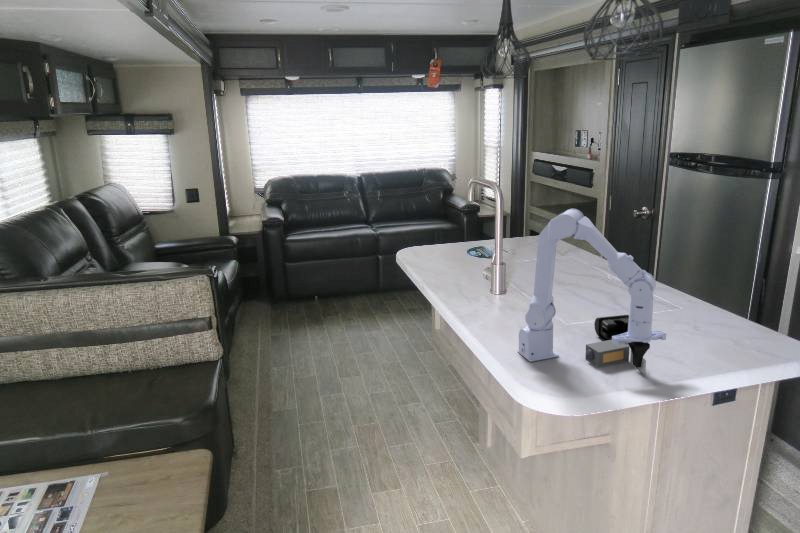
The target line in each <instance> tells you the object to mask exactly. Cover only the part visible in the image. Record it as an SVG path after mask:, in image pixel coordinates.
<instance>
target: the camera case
mask: <svg viewBox="0 0 800 533" xmlns="http://www.w3.org/2000/svg"><path fill="white" fill-rule="evenodd" d="M630 349H631V348H630V346H629V344H627V343H622V344H619V345H614V344H613V343H612V340H607V341H603V340H601V341H597V342H592V343H586V344H585V360H586V361H588V362H589V363H591V364H592V365H594V366H595V367H597V368H601V367H602V368H603V367H606V366H611V365H615V364H621V363H625V362H626V363H627V362H629V361H630Z"/></svg>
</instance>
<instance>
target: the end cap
mask: <svg viewBox="0 0 800 533" xmlns="http://www.w3.org/2000/svg"><path fill="white" fill-rule="evenodd" d="M628 322H629V314H619V315H611V316H610V315H609V316H600V317H599V316H598V317H596V318H595V320H594V324H593V325H594V331H595V333H596V335H597V337H598V338H599V339H600V340H601V341H607V340H612V336H616V335H619V334H623V333H626V332H628Z"/></svg>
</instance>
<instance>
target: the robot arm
mask: <svg viewBox="0 0 800 533" xmlns="http://www.w3.org/2000/svg"><path fill="white" fill-rule="evenodd" d="M573 235H574V237H573V239H574V240H581V241H586V242H587V243H589V245H590V246H592V247H593V248H594V250H596V251H597V252H598V253H599V254H600V255H601V256H603V258H604V259H606V260H607V262H608V269H609V270H610V271H611V272H612V273H613V274H614V276H616V277H617V278H618V279H619V280H620V281H621V282H622V284H624V285H625V286H626V287H628V288H627V291H628V293H629V294H628V295H630V301H629V309H628V315H629V322H628V332H626V333H623V334H619V335H616V336H612V343H613V344H614V345H619V344H622V343H624V344H627V345H628V346H630V348H629V349H630V352H631V351H632V354H633V360H632V362H631V363H632V366H634V367H635V368H637V369H638V368H640V367H641V364H642V358H644V356H645V354H646V353H647V352H648V350H650V347H651V344H650V343H651V341H656V340H661V341H666V340H667V333H666V332H665V331H664V330H652V324H653V314H654V313H653V312H654V291H655V290H656V285H657V283H656V279H655V278H654V276H653V275H652V273H649V272H647V271H646V270H645V269H642V268H641V267H640V266H639V265H638V264H637V263H636V262H635V261H634V256H632V255H631V254H629V255H628V254H627V253H626V252H619V251H617V249H616V248H615V247H614V246H613V245H612V244H611V243H610V242H609V241H608V239H607V238H606V237H605V236H604V235H603V234H602V232H601V231H599V229H598V228H597V227H596V226H595V225H594V223H593V222H592V221H591V219H590V218H588V217H587V216H586V215H585V216H584V214H583V212H582V211H581V210H579V209H577V208H569V209H566V210H565V211H563V212H561V213H559V214H558V215H556V216H555V217H553V218H552V219H550V220H549V222H548V223H547V224H546V226H545V227H544V228H543V229H542V231H541V232H540V233H539V235H538V241H537V251H536V252H537V254H536V263H535V264H536V265H535V274H534V276H535V277H534V286H533V287H534V288H533V295H532V297H531V301H530V302H529V308H528V310H527V312H526V314H525V316H524V317H525V318H524V319H525V323H526V326H525V327H523V328H521V329H519V332H518V350H517V353H518V354H520V355H521V356H523V358H525V359H526V360H527V361H529V362H538V361H542V360H547V359H552V358H558V357H559V356H560V355H559V353H557V352H556V351H554V322H553V320H552V319H553V318H554V317H555V316H556V312H557V311H556V306H555V304H554V299H555V297H554V296H553V286H554V279H555V278H554V276H555V268H556V267H555V266H556V255H557V246H558V242H559V241H561V240H563V239H566V238H570V237H572V236H573Z"/></svg>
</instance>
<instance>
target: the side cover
mask: <svg viewBox="0 0 800 533" xmlns="http://www.w3.org/2000/svg"><path fill="white" fill-rule="evenodd" d="M632 360H633V354H632V351H631V350H630V356H629V361H630V362H631V363H633V362H632ZM646 368H647V360H646V359H645V358H644V357H643V358H642V364H641V367H640V368H637V369H638V370H639V371H640V372H641V373H642V374H646V372H647V371H646Z"/></svg>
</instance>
